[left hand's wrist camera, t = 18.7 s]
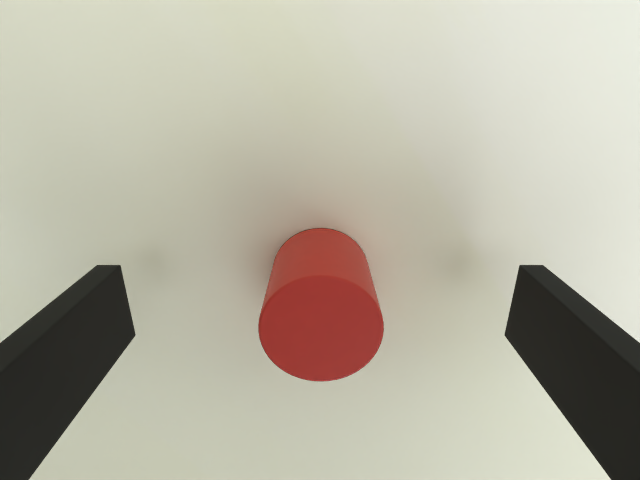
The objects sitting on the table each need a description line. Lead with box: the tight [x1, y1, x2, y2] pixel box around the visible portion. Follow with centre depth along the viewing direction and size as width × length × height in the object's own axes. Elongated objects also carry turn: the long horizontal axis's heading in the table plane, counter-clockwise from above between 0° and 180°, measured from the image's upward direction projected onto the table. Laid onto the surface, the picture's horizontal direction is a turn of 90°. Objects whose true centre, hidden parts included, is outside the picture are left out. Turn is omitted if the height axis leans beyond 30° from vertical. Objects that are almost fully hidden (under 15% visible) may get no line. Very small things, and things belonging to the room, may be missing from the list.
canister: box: [258, 228, 384, 381], centre depth 13 cm, size 4×4×4 cm
